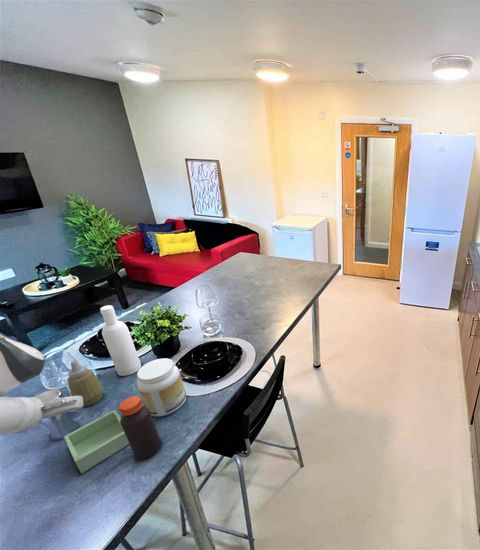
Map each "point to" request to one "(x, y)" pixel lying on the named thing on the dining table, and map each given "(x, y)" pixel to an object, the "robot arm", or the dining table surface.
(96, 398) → the squeeze bottle
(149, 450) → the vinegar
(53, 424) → the beer glass
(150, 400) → the supplement tub
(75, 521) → the dining table surface
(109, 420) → the tote
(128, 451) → the dining table surface
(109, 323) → the bottle
